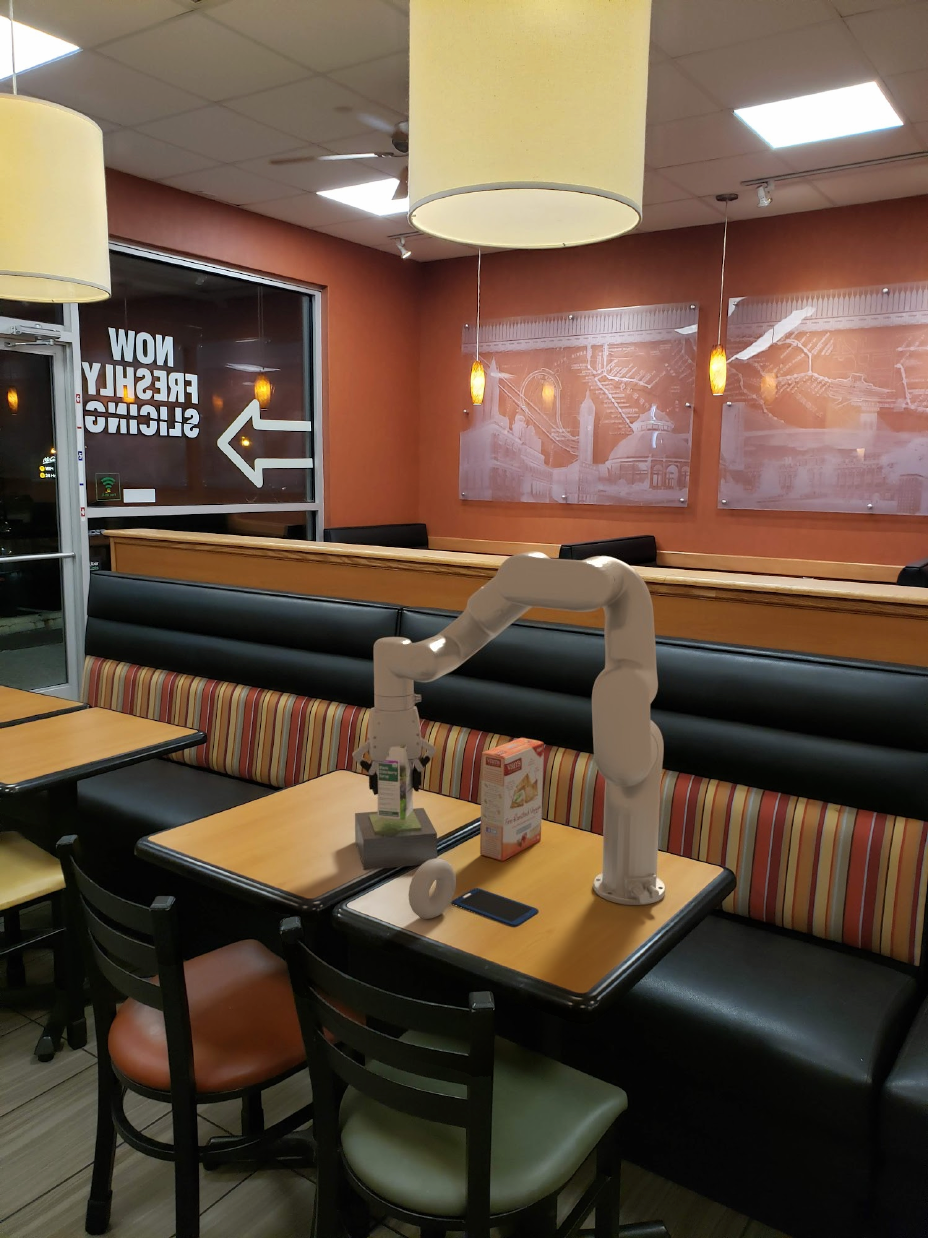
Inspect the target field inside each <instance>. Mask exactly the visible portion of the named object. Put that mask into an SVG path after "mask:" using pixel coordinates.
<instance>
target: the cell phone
mask: <svg viewBox="0 0 928 1238" xmlns="http://www.w3.org/2000/svg"><path fill="white" fill-rule="evenodd" d="M453 904H454V905H453ZM451 905H453V906H455V905H457V906H456V907H458V908H460V907H462V909H463V908H464V909H463V910H465V911H468V910H470V911H469V912H471V911H472V912H471V913H474V912H475V914H477V915H480V916H482V915H483V917H485V918H487V919H491V920H493V921H496V922H499V923H502V924H504V925H506V926H510V927H514V928H515V927H516V928H517V927H519V926H521V925H522V924H524V923H525V922H527V921H528V920H530V919H532V918H534V917H535V916H536V915H538V914H539V909H538V908H537V907H534V906H531V905H529V904H526V903H523V902H519V901H517V900H514V899H510V898H509V897H505V896H503V895H499V894H497V893H494V892H490V891H489V890H485V889H482V888H479V887H475V888H472V889H470V890H469V891H466V892H465V893H463V894H462V895H459V896H458V897H456V898H454V899H452V900H451Z"/></svg>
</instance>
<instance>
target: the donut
mask: <svg viewBox="0 0 928 1238" xmlns="http://www.w3.org/2000/svg"><path fill="white" fill-rule="evenodd" d="M456 879H457V878H456V872H455V870H454V867H453V866H452V864H451V863H449V862H448V860H446V859H442V858H438V857H437V858H435V859H431V860H428V861H427V862H425V863H423V864H422V865H419V867H418V869H417V870H416V871H415V872H414V874H413V876H412V878H411V881H410V884H409V888H408V889H409V890H408V901H409V902H408V904H409V906H410V908H411V910H412V912H413V913H414V914H415V915H416V916H418V917H419V918H421V919H427V920H429V919H433V918H434V919H435V918H436V917H438V916H439V915H441V914H443V912H445V911H446V909H447V908H448V907H449V906H450V904H451V903H452V901H453V897H454V895H455V891H456V885H457V884H456V883H457V880H456ZM435 881H436V882H435ZM434 882H435V888H434V890H433V892H432V893H431V895H430V891H431V887H432V885H433V883H434Z"/></svg>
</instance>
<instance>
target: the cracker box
mask: <svg viewBox="0 0 928 1238" xmlns="http://www.w3.org/2000/svg"><path fill="white" fill-rule="evenodd" d="M544 749H545V743H544V742H543V741H540V740H537V739H532V738H531V739H530V738H526V737H520V738H517V739H514V740H511V741H509V742H506V743H504V744H501V745H498V746H496V747H493V748H491V749H488V750H485V751H483V752H481V783H480V784H481V788H480V789H481V794H480V844H479V849H480V850H479V851H480V852H479V854H480V855H481V856H485V857H487V858H491V859H494V860H497V861H500V862H504V861H506V860H508V859H509V858H511V857H512V856H515V855H516V854H518V853H520V852H522V851H523V850H525V849H527V848H529V847H531V846H532V845H534V844H536V843H539V842H540V841H541V840H542V818H543V817H542V815H543V787H544V786H543V781H544V759H545V757H544V756H545V755H544V753H545V750H544Z"/></svg>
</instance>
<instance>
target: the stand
mask: <svg viewBox="0 0 928 1238" xmlns="http://www.w3.org/2000/svg"><path fill="white" fill-rule="evenodd" d="M354 832H355V834H354V835H355V836H354V837H355V838H354V840H355V841H354V842H355V845H356V848H357V852H358V855H359V859H360V862H361V866H362V869H363V871H366V870H368V871H369V870H370V871H371V870H378V869H390V868H399V867H411V866H421V865H422V864H423V863H425V862H427V861H428V860H431V859H435V858H438V832H437V831H436V829H435V827H434V825H433V823H432V821H431V819H430V817H429V816H428V814H427V812H426V810H425V808H424V807H415V808H413V811H412V812H411V813H410V815H409V816H408V817H407V818H406V819H405V820H398V819H387V818H378V810H377V811H368V812H367V811H366V812H355V813H354Z"/></svg>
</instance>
